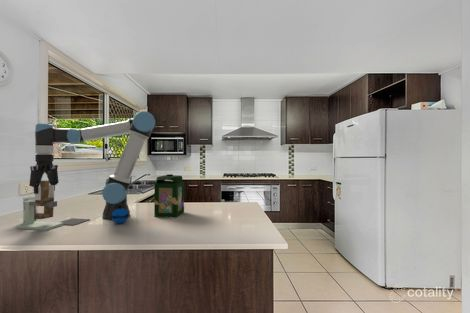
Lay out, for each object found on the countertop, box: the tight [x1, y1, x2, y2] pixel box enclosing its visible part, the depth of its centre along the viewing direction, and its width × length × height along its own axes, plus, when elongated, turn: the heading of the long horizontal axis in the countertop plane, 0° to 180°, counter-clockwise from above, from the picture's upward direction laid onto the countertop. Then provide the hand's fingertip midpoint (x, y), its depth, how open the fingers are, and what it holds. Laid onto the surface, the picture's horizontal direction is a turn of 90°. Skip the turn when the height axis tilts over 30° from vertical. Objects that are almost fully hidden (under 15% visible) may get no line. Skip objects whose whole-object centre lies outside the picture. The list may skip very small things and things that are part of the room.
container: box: [153, 173, 185, 219], centre depth 164 cm, size 15×18×25 cm
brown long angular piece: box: [34, 180, 55, 220], centre depth 135 cm, size 4×7×19 cm, turn 170°
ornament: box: [111, 205, 130, 225], centre depth 143 cm, size 9×9×10 cm
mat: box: [59, 217, 91, 227], centre depth 145 cm, size 12×12×1 cm
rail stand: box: [16, 200, 65, 231], centre depth 136 cm, size 18×10×13 cm, turn 79°
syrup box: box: [22, 195, 39, 224], centre depth 144 cm, size 6×6×14 cm
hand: (44, 198), depth 135 cm, fingers closed on brown long angular piece, 7 cm apart
